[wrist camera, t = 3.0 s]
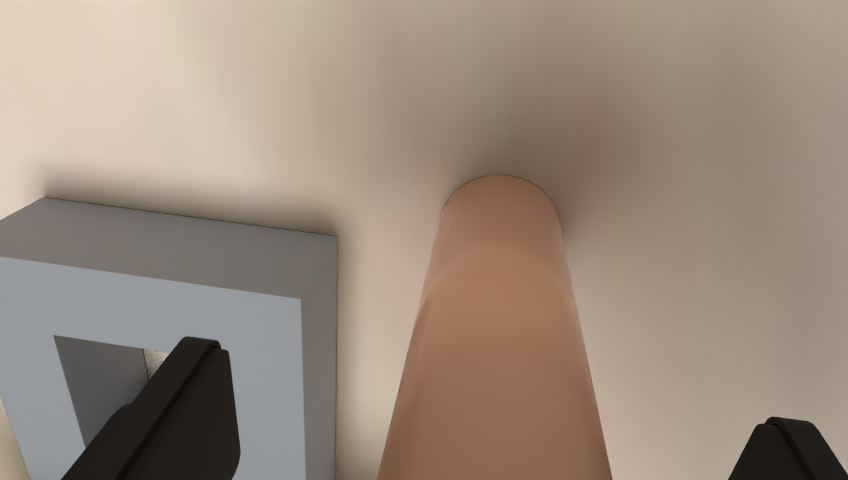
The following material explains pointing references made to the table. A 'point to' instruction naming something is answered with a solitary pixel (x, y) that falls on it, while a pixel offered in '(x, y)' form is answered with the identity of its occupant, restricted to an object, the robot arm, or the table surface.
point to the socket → (165, 328)
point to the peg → (496, 350)
